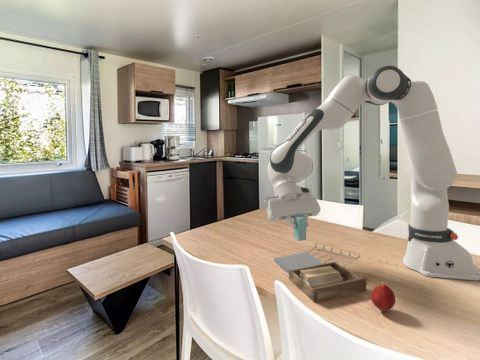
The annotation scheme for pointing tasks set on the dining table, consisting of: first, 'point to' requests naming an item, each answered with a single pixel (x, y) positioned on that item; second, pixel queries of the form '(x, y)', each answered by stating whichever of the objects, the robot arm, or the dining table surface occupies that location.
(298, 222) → the teal rectangular block
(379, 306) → the onion
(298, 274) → the wooden tray
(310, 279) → the offcut stack
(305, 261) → the tile
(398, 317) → the dining table surface
